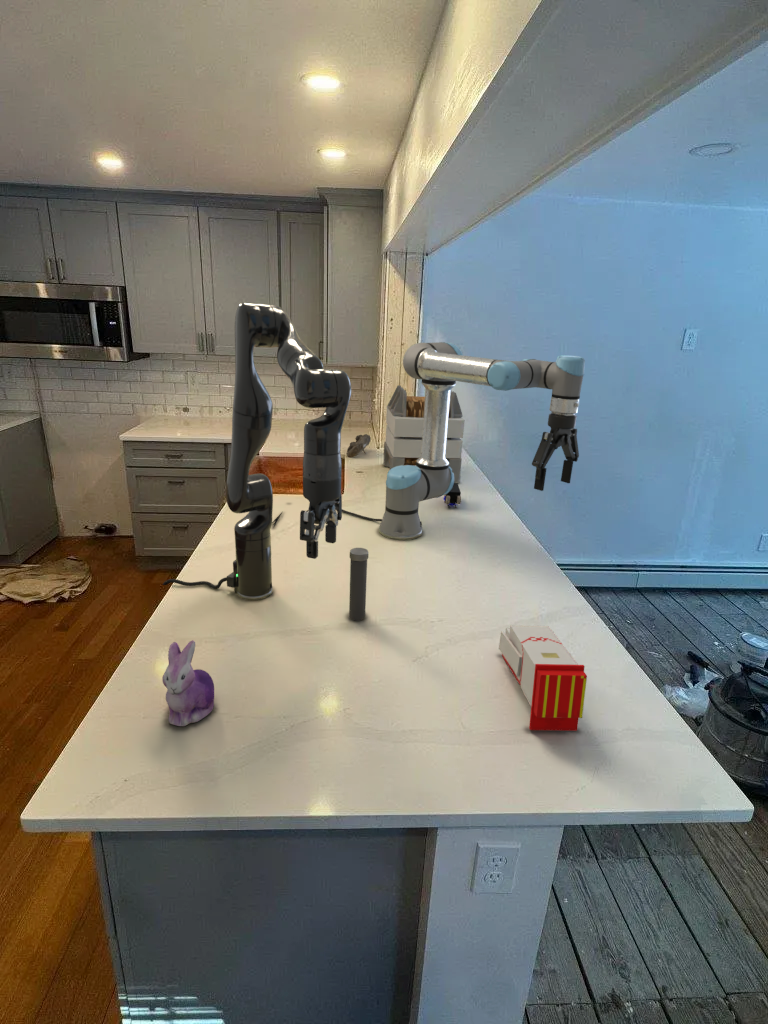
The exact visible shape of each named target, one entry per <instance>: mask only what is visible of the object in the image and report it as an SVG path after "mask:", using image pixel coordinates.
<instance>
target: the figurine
mask: <svg viewBox="0 0 768 1024" xmlns="http://www.w3.org/2000/svg"><path fill="white" fill-rule="evenodd" d="M195 649H196V641H195V640H190V641H188V643H186V645H185V646H184V648H183V649H182V650H181V648H180V645H179V644H178V642H176V641H173V642H172V643H170V645H169V648H168V651H167V652H168V654H167V658H168V665H167V667H166V669H165V670H164V672H163V675H162V680H161V681H162V684H163V686H164V687H165V688H166V690H167V691H166V693H165V701H166V704H167V707H168V710H169V715H168V723H169V724H170V725H173V726H176V727H177V726H178V727H185V726H187V725H189V724H192V723H193V724H194V723H197V722H200V721H201V720H203V719H204V718H205V717H207V716H209V714H210V713H212V711H213V709H214V705H215V684H214V683H215V682H214V680H213V678H212V676H211V675H210V673H208V672H207V671H205V670H203V669H194V668H193V666H192V660H193V657H194V654H195Z"/></svg>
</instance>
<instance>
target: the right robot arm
mask: <svg viewBox="0 0 768 1024" xmlns="http://www.w3.org/2000/svg"><path fill="white" fill-rule="evenodd" d="M585 365H586V360H585V358H584V357H582V356H578V355H566V354H565V355H564V354H563V355H558V356H557V357H556V360H555V361H549V360H541V359H536V358H524V359H521V360H506V359H505V360H504V359H503V360H502V359H496V358H487V357H479V356H471V355H464V354H463V352H462V350H461V349H460V347H459V346H457V345H456V344H455V343H451V342H445V341H443V342H442V341H441V342H440V341H439V342H438V341H437V342H417V343H414V344H412V345H411V346H409V347H408V348H407V350H406V351H405V353H404V355H403V358H402V366H403V369H404V372H405V373H406V374H407V375H408V376H409V377H411V378H412V379H415V380H421V385H422V386H423V387H424V389H425V392H424V397H425V404H424V419H423V434H422V449H421V457H420V458H418V459H417V461H416V466H413V465H401V466H396V467H394V468H392V469H390V468H389V470H388V472H387V474H386V479H385V504H384V505H385V507H384V508H385V509H384V513H383V515H382V518H374V517H369V516H365V515H361V514H357V513H355V512H351V511H348V510H345V509H342V513H344V514H346V515H350V516H354V517H357V518H360V519H362V520H363V519H364V520H366V521H367V520H368V521H372V522H379V526H378V533H379V534H380V535H381V536H382V537H385V538H387V539H389V540H395V541H410V540H415V539H418V538H420V537H421V536H422V535H423V523H422V520H421V518H420V515H419V507H420V506H419V505H420V502H423V501H427V500H431V499H437V498H440V497H444V495H445V494H447V493H448V492H449V491H450V490H451V489H452V487H453V484H454V473H452V469H451V467H450V466H449V462H448V461H447V459H446V458H445V453H446V441H447V428H448V416H449V404H450V392H451V391H452V389H453V388H454V387H455V386H456V384H457V382H461V383H465V384H473V385H479V386H487V387H491V388H492V389H494V390H496V391H503V392H504V391H511V390H520V389H532V388H533V389H534V388H539V389H546V390H551V398H550V404H549V413H548V418H547V419H548V420H547V426H548V427H549V428H550V431H549V432H548V431H543V432H542V435H541V440H540V442H539V445H538V447H537V449H536V452H535V454H534V457H533V460H532V461H531V466H533V467H535V475H534V477H535V478H534V485H533V489H534V490H537V491H539V492H543V491H544V489H545V484H546V483H545V482H546V476H547V468H546V466H547V465H548V463H549V461H550V459H551V457H552V456H553V454H554V453H555V451H556V450H557V449H558V448H560V447H561V449H562V452H563V455H564V458H565V459H563V463H562V468H561V469H562V470H561V475H560V482H562V483H566V484H571V478H572V472H573V466H574V463H576V462H578V461H579V457H580V453H579V444H578V428H576V423H577V419H578V416H577V414H578V412H579V411H578V410H579V406H580V397H581V391H582V385H583V380H584V376H585Z"/></svg>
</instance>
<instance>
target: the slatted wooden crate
mask: <svg viewBox="0 0 768 1024" xmlns="http://www.w3.org/2000/svg"><path fill="white" fill-rule="evenodd" d="M407 394H408V393H407V390H406V389H404V388H403V387H402V385H399V384H398V385H397V386H396V388H395V390H394V392H393V394H392V395H391V398H390V400H389V402H388V404H387V405H386V413H385V414H386V415H385V423H386V428H385V438H384V442H383V466H384V467H388V468H389V470H390V469H392V468H394V467H396V466H401V465H404V466H405V465H413V466H416V461H417V459H418V458H420V457H421V449H422V434H423V419H424V404H425V396H415V395H414V396H413V395H412V396H411V395H407ZM464 429H465V419H464V418H463V411H462V408H461V405H460V402H459V398H458V395H457V392H455V391H453V390H451V392H450V404H449V416H448V428H447V441H446V453H445V458H446V459H447V461H448V462H449V466H450V467H451V469H452V473H454V483H458V484H459V483H461V472H462V461H463V460H462V453H463V442H464V441H463V440H462V439H463V438H464V431H465V430H464Z"/></svg>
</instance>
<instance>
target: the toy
mask: <svg viewBox="0 0 768 1024" xmlns="http://www.w3.org/2000/svg"><path fill="white" fill-rule="evenodd" d="M499 635H500V636H499V643H498V650H499V652H500V653H501V657H502V658H503V660H504V662H505V663H506V665H507V667H508V669H509V670H510V671H511V673H512V675H513V676H514V678H515V680H516V681H517V683H518V685H520V689H521V691H522V692H523V695H524V696H525V698H526V700H527V702H528V704H529V706H530V715H529V725H528V729H529V731H562V732H563V731H569V732H570V731H572V732H577V731H578V727H579V719H582V718H583V713H584V705H585V697H586V689H587V688H586V687H587V678H588V675H587V673H586V672H585V665H584V664H579V663H578V662H577V661H576V660H575V658H574V657H573V656H572V654H571V653H570V652H569V651H568V649H567V648H566V646H565V645H564V644H563V643H562V642H561V640H560V639H559V637H558V636H557V635H556V633H555V632H554V631H553V630H552V629H551V627H550V626H549V625H516V624H515V625H514V624H513V625H512V624H511V625H510V626H509V627H505V632H504V631H500V634H499Z"/></svg>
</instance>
